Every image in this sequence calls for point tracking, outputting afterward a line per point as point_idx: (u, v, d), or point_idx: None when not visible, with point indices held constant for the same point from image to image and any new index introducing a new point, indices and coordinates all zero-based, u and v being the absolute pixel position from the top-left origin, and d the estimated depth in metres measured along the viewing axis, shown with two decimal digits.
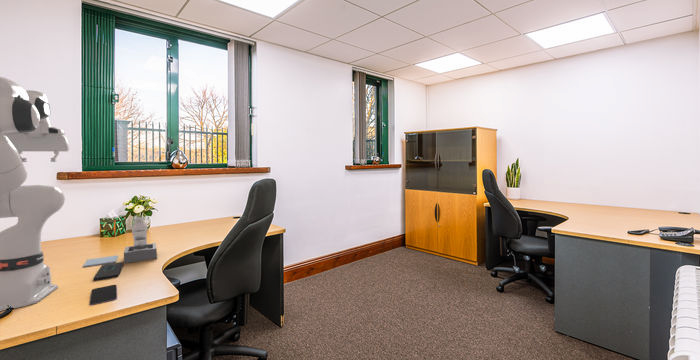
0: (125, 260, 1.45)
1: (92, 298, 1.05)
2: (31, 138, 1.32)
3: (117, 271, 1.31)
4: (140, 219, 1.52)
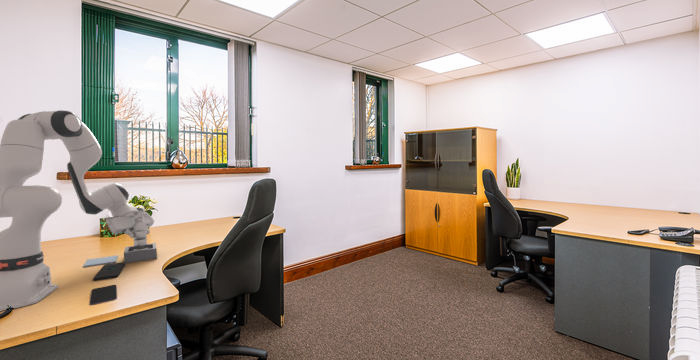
0: (125, 260, 1.45)
1: (92, 298, 1.06)
2: (128, 218, 1.53)
3: (117, 271, 1.30)
4: (140, 219, 1.52)
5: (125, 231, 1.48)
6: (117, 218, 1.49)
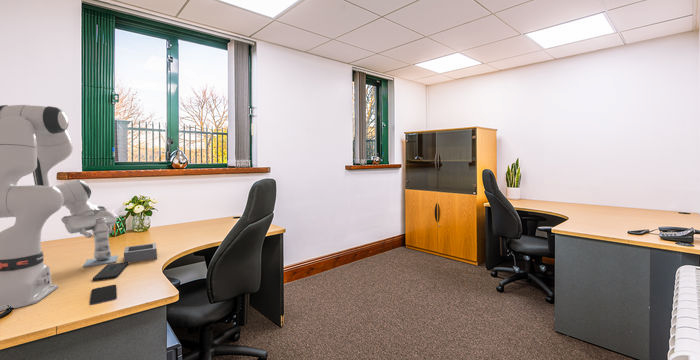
0: (125, 260, 1.45)
1: (92, 298, 1.06)
2: (87, 217, 1.48)
3: (117, 272, 1.30)
4: (101, 220, 1.47)
5: (81, 231, 1.42)
6: (74, 217, 1.43)
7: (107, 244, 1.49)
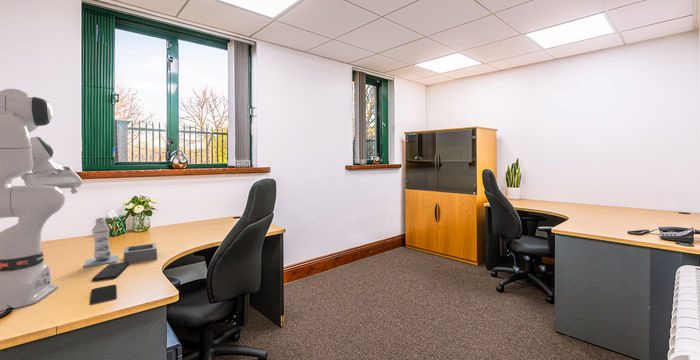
0: (125, 260, 1.45)
1: (92, 298, 1.06)
2: (49, 176, 1.43)
3: (117, 272, 1.30)
4: (101, 220, 1.47)
5: None
6: (35, 174, 1.39)
7: (107, 244, 1.49)
